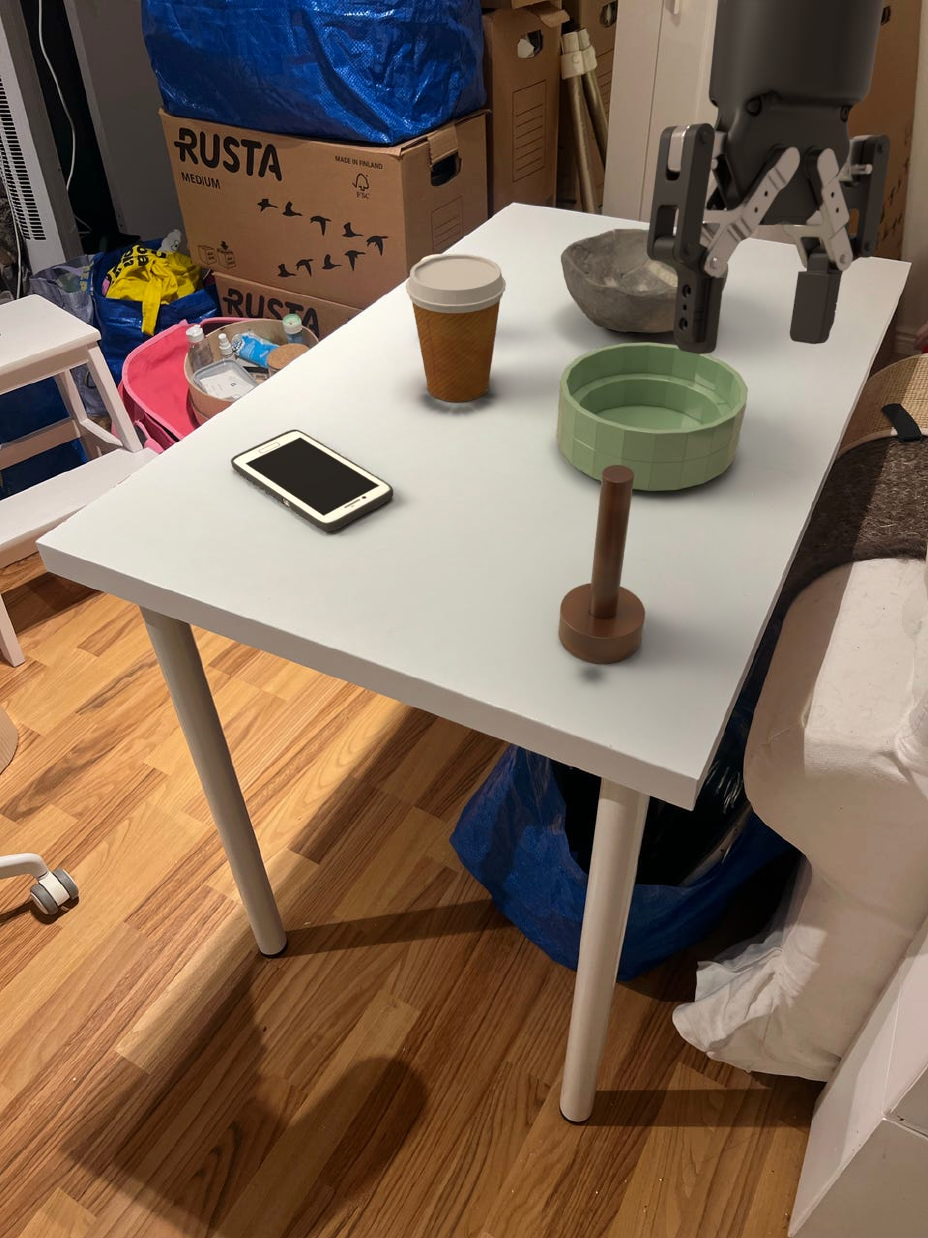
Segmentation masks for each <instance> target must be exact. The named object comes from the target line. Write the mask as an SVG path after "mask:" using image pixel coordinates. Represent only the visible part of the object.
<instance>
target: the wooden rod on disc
mask: <svg viewBox="0 0 928 1238" xmlns="http://www.w3.org/2000/svg"><path fill="white" fill-rule="evenodd" d="M633 482H634V472H633V471H632V470H631V469H630V468H628V467H626V466H622V465H612V466H608V467H606V468H605V469H604V470H603V472H602V480H601V481H600V491H599V500H598V511H597V520H596V530H595V538H594V539H595V540H594V550H593V558H592V559H593V560H592V571H591V579H590V582H589V583H585V584H581V585H578V586H576V587H573V588H572V589H571V590H569V591H568V592H567V593H566V594H565V595H564V597H563V598H562V599H561V602H560V607H559V621H558V637H559V641H560V643H561V645H562V646H563V648H564V649H565V650H566V651H567V652H568V653H569V654H570V655H572V656H573V657H575V658H577V659H580V660H582V661H584V662H587V663H592V664H599V665H600V664H601V665H607V664H616V663H618V662H619V663H620V662H623V661H625V660H626V659H629V658H630V657H632V656H633V655H634V654H635V653H636V652H637V651H638V650H639V648H640V646H641V644H642V638H643V631H644V626H645V621H646V609H645V606H644V604H643V602H642V601H641V599H640V598H639V597H638V596H637V595H636V594H635V593H633V591H631V590H629V589H627V588H625V587H623V586H621V581H622V574H623V566H624V560H625V559H624V557H625V550H626V544H627V543H626V542H627V535H628V525H629V519H630V513H631V512H630V511H631V504H632V496H633V490H634V489H633Z"/></svg>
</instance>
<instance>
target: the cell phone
mask: <svg viewBox="0 0 928 1238" xmlns="http://www.w3.org/2000/svg"><path fill="white" fill-rule="evenodd" d="M230 463H231V464H230V465H231V468H232V469H233V470H234V471H235V472H237V473H238V474H240V475H241V476H242V477H244V478H245V479H247V480H248V481H250V482H252V483H253V484H254V485H256V486H257V487H259V488H260V489H262V490H263V491H265V492H266V493H267V494H269V495H270V496H272V497H273V498H275V499H277V500H278V501H279V502H281V503H283V504H284V505H286V506H287V507H289V508H290V510H292V511H293V512H294V513H296V514H297V515H299V516H301V517H303V518H304V519H305V520H307V521H308V522H310V523H311V524H313V525H314V526H316V527H317V528H318V529H320V530H323V531H325V532H333V531H336V530H339V529H341V528H342V527H344V526H345V525H347V524H349V523H352V522H353V521H355V520H356V519H358V518H360V517H362V516H364V515H365V514H367V513H369V512H371V511H373V510H375V509H377V508H378V507H380V506H382V505H384V504H385V503H387V502H389V501H390V500H392V498H393V497H394V488H393V487H392V485H390V484H389V483H388V482H386V481H385V480H383V478H380V477H378V476H377V475H375V474H374V473H372V472H370V471H369V470H367V469H366V468H364V467H362V466H361V465H358V464H357V463H355V462H354V461H352V460H350V459H348V458H347V457H345V456H344V455H342V454H340V453H339V452H337V451H335V450H334V449H332V448H330V447H328V446H327V445H325V444H324V443H322V442H320V441H319V440H317V439H315V438H314V437H312V436H310V435H309V434H307V433H306V432H303V431H301V430H299V429H294V428H293V429H290V430H287V431H285V432H282V433H281V434H278V435H276V436H274V437H272V438H270V439H268V440H266V441H263V442H261V443H259V444H257V445H255V446H252V447H250V448H248V449H247V450H243V451H242V452H239V453H238V454H236V455H235V456H233V457H232V458H231V459H230Z"/></svg>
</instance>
